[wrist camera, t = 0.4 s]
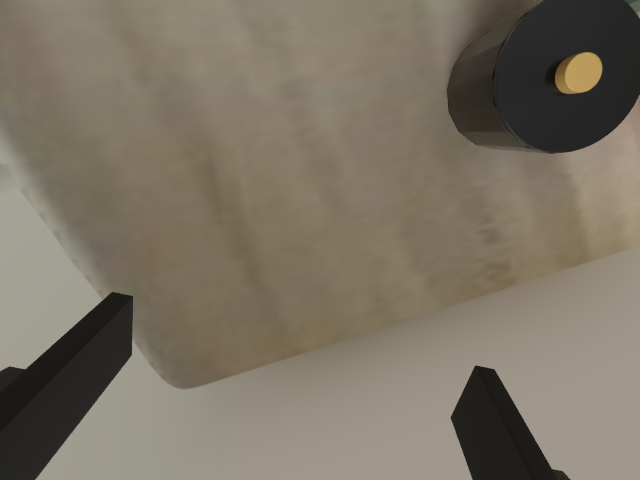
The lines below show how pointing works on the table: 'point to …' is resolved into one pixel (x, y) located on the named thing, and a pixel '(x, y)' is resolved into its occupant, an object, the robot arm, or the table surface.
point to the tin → (634, 5)
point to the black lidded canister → (549, 77)
